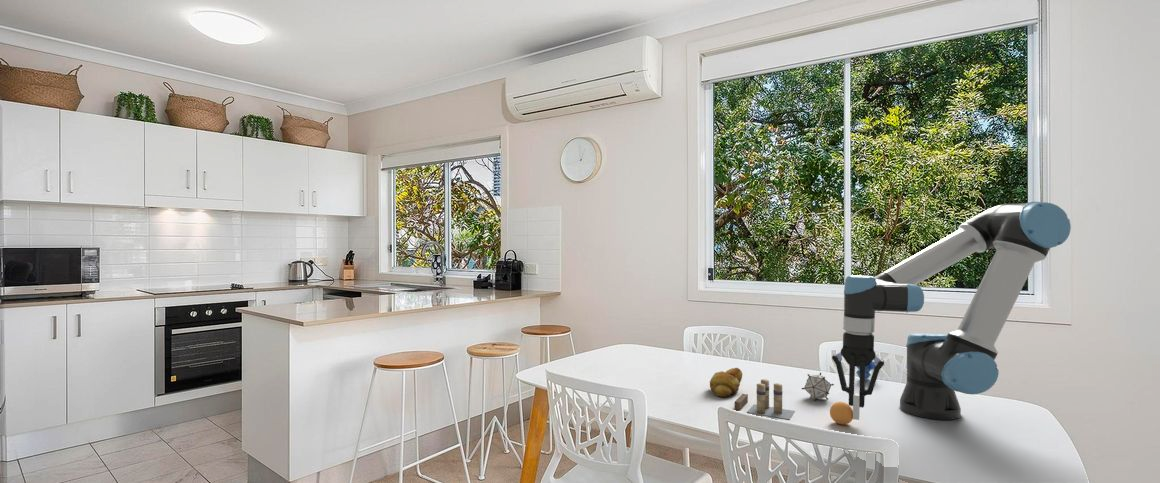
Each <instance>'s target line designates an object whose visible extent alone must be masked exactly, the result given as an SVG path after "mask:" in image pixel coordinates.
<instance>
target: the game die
mask: <svg viewBox="0 0 1160 483" xmlns="http://www.w3.org/2000/svg"><path fill="white" fill-rule="evenodd" d="M807 376H808V378H807V379H806V383H805V385H804V387H802V388H801V390H805V391H806V392H807V394H809V395H810V397H812V398H813V401H814V402H816V400H817V399H825V400H829V397H827V396H828V395H830V389H831V387H832V386H834V385H835V384H834V383H831V382H829V381H828V379H826V377H825V376H823V375H822V372H820V373H819V374H814V375H813V374H812V375H810V374H809V373H807Z"/></svg>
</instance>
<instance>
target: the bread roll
mask: <svg viewBox="0 0 1160 483" xmlns="http://www.w3.org/2000/svg"><path fill="white" fill-rule="evenodd" d="M742 380H743V371H742V370H741V369H740V368H739V367H732V368H730V369H728V370H726V371H723V370H721V371H716V372H715V373H714V374H713V375H712V377H711V378H710V381H709V387H710V390H711V391H712V392H713V393H714V394H715V395H716V396H718V397H722V398H723V397H724V398H727V397H730V396H731V395H734V394H737V393H738V391H739V390H740V389H739V388H740V385H741V381H742Z"/></svg>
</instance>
